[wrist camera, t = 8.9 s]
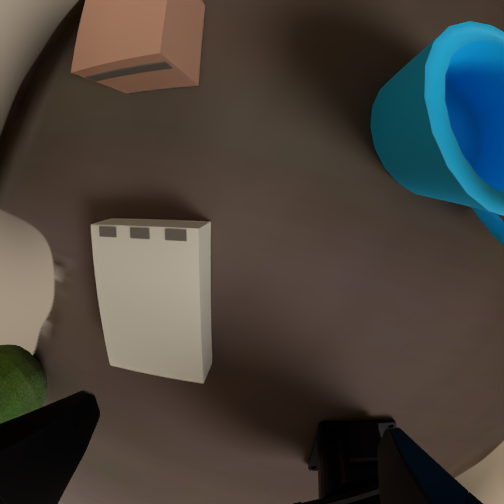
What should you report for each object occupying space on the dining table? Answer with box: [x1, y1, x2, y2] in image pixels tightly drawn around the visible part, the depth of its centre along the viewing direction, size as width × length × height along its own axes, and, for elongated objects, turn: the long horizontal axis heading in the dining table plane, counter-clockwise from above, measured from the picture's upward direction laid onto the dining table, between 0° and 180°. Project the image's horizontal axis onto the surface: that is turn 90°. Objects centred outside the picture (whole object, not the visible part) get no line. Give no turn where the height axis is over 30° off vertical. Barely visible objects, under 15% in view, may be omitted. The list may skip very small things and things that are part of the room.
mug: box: [370, 21, 504, 246], centre depth 12 cm, size 12×8×8 cm
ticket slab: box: [91, 218, 212, 384], centre depth 19 cm, size 10×7×3 cm
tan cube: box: [71, 0, 205, 94], centre depth 13 cm, size 6×5×6 cm
